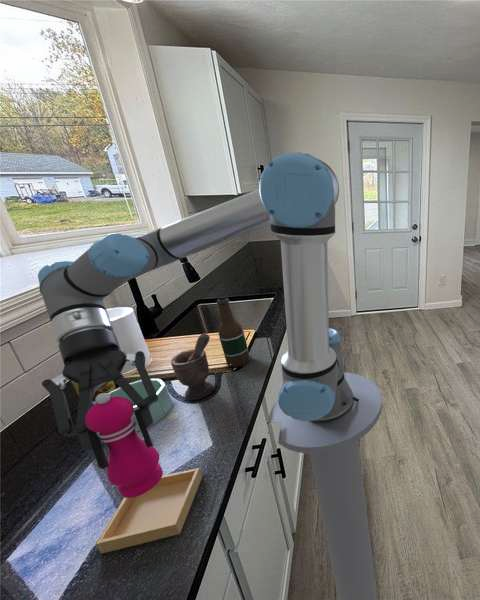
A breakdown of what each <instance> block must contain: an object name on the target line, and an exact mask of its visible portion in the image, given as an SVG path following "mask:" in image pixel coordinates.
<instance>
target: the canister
mask: <svg viewBox="0 0 480 600" xmlns="http://www.w3.org/2000/svg"><path fill="white" fill-rule="evenodd" d="M106 311H107V313H108V316H109V319H110V321H111V324H112V327H113V332H114V333H115V335H116V338H117V341H118V343H119V346H120V349H121V351H123V352H124V353H125V354H136V353H137V352H138V351H142V352H143V353H144V355H145V362H146V361H147V360H148V359H149V357H150V355H151V353H150V350H149V348H148V345H147V342H146V340H145V337H144V335H143V332H142V330H141V327H140V324H139V322H138V319H137V316H136V314H135V311H134V308H132V307H129V306H128V307H127V306H122V307H120V306H119V307H112V308H106ZM152 361H153V359H152V357H151V359H150V360H149V362H147V363H146V364H145V368H146V367H147V366H149V365H150V364H151V363H152ZM147 364H148V365H147ZM134 368H136V366H133V365H131V363H130V361H126V363H125V365H124V367H123V369H122V371H121V374H123V373H126V372H128V371H130V370H132V369H134ZM135 373H136V374H137V373H138V371H137V369H136V370H134V371H132V372H129V373H126V374H123V377H124V378H126V377H130V376H132V375H134V374H135Z"/></svg>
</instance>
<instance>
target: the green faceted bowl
mask: <svg viewBox="0 0 480 600" xmlns="http://www.w3.org/2000/svg"><path fill="white" fill-rule="evenodd" d="M150 380H151V382H152V384H153V386H154V389H155V391H156V393H157V396H158V401H157V402H154V403H153V404H152V405H150V407H149V410H150V413H151V416H152V418H153V421H154V422H153V425H154V424H155V423H157V422H159V421H160V420H161V419H163V418H165V417H166V416H167V414H168V413H169V411H170V410H171V408H172V407H173V405H174V404H173V402H172V399H171V395H170V393H169V391H168V388H167V386H166V383H165V382H164V381H163V380H162V378H150ZM129 383H130V385H131V386H132V387H133V388H134V389H135V390H136V391H137V393H138V394H139V395H140V396H141V397H142V398H143V399H145V398H147V397H148V394H147V392H146V390H145V387H144V385H143V383H142V380H141V379H140V380H136V381H132V382H129ZM108 394H109V395H110V397H124V398H126V399H128V400H129V401H130V402H131V403H132V404H133V407H134V411H135V410H137V409H139V408H138V407H137V405H136V404H135V403H134V402H133V401H132V400H131V399H130V398H129V396H128V395H127V394H126V393H125V392H124V391H123V390H122V388H121V387H120V386H119V387H118V388H117V387H116V389H115V390H113V391H111V392H109V393H108ZM96 403H97V402H96V401H92V406H93V405H95V404H96ZM132 416H133V417H134V418H135V421H136V423H137V425H136V427H135V431H136V432H138V431H139V432H140V431H141V430H140V427H139V424H138V422H137V419H136V416H135V413H133V415H132ZM149 427H150V426H148V427H147V428H149Z"/></svg>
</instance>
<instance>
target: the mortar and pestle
mask: <svg viewBox="0 0 480 600" xmlns="http://www.w3.org/2000/svg"><path fill="white" fill-rule="evenodd" d="M210 338H211V337H210V335H209V334H207V333H202V334H200V335H199V336H198V338H197V340H196V343H195V346H194V348H193V349H189V350H183V351H181V352H179V353H177V354H176V355H174V356H173V357H172V358H171V360H170V364H171V367H172V370H173V372H174V375H175V378H176V379H177V380H178V381H179V382H180V384H181V385H182V386H186V387H187V389H186V390H185V393H184V397H185V400H187V401H192V402H193V401H198V400H201V399H203V398H205V397H206V396H208V395H211V394H212V393H213V391H214V387H213V385H212V383H211V382H208V381H206V379H207V378H208V377H209V371H210V367H209V366H210V365H209V362H208V358H207V353H206V351H205V348H206V347H207V345H208V344H209V342H210Z"/></svg>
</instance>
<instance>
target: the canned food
mask: <svg viewBox="0 0 480 600" xmlns="http://www.w3.org/2000/svg"><path fill="white" fill-rule="evenodd" d="M70 382H71V384H72V386H73V388H74V390H75V392H76V394H77V396H78V397H79V384H78V383H75V382H73V381H71V380H70ZM114 382H115V381H111V382H105V383H102V384H100V385H99V386H96V387H94V393H93V400H92V401H96V400H95V399H96V397H97V396H98V395H99V394H101V393H109V392H111V391H113V390H115V389H117V387H116V383H114Z"/></svg>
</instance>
